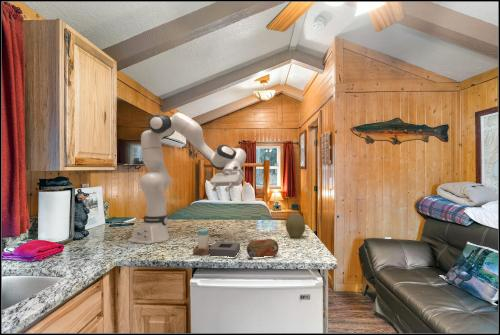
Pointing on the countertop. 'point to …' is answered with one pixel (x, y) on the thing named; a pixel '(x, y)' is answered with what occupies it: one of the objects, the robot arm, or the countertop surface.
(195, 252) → the brown shallow square box
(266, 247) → the tin
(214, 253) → the port
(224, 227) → the countertop surface
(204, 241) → the blue capped bottle
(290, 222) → the olive brown vase
